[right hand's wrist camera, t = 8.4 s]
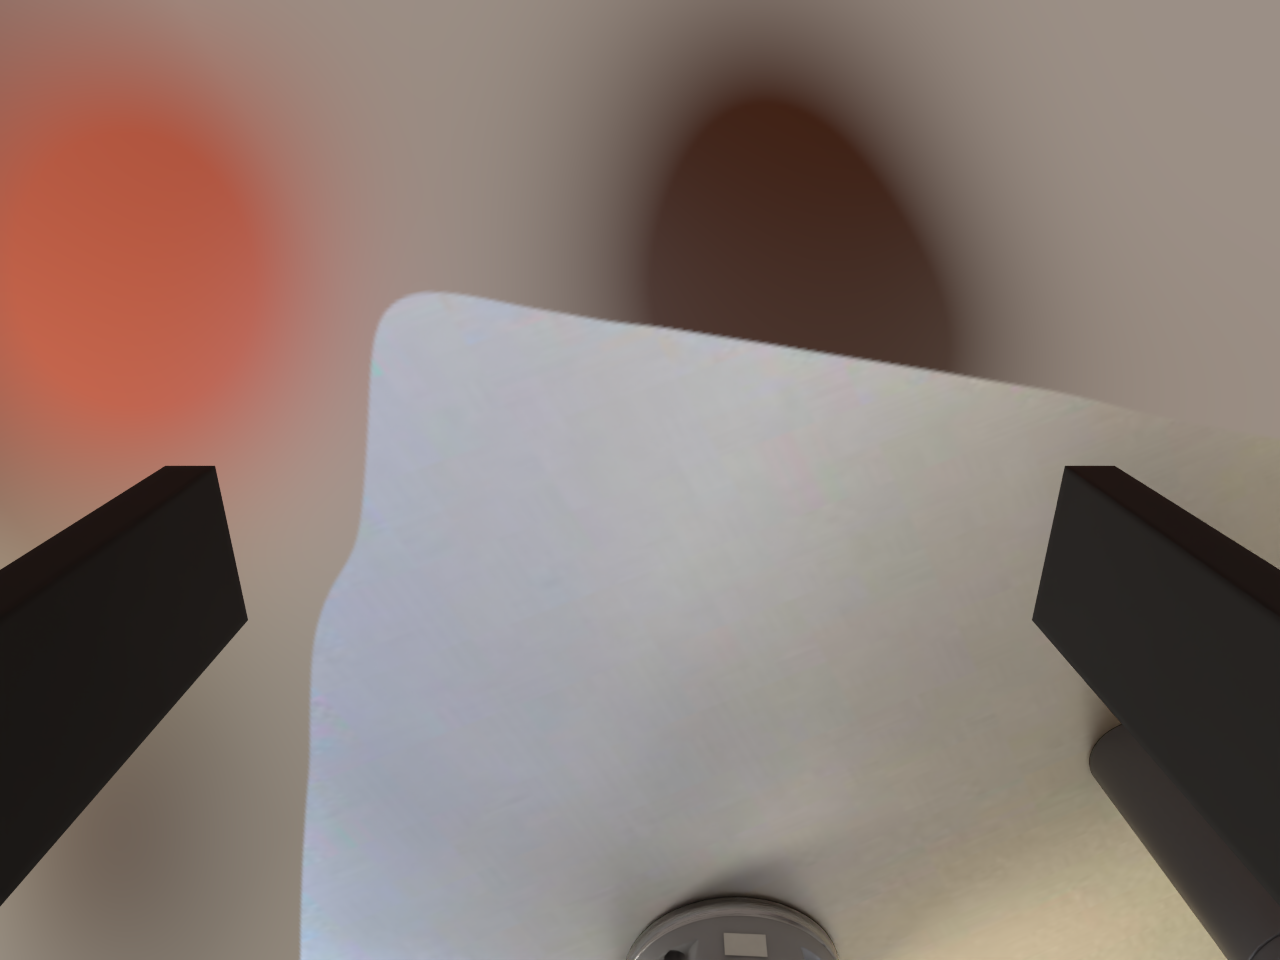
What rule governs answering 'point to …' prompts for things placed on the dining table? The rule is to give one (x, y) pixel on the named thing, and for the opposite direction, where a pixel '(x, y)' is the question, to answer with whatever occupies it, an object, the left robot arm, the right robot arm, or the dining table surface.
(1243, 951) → the bottle
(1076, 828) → the dining table surface
